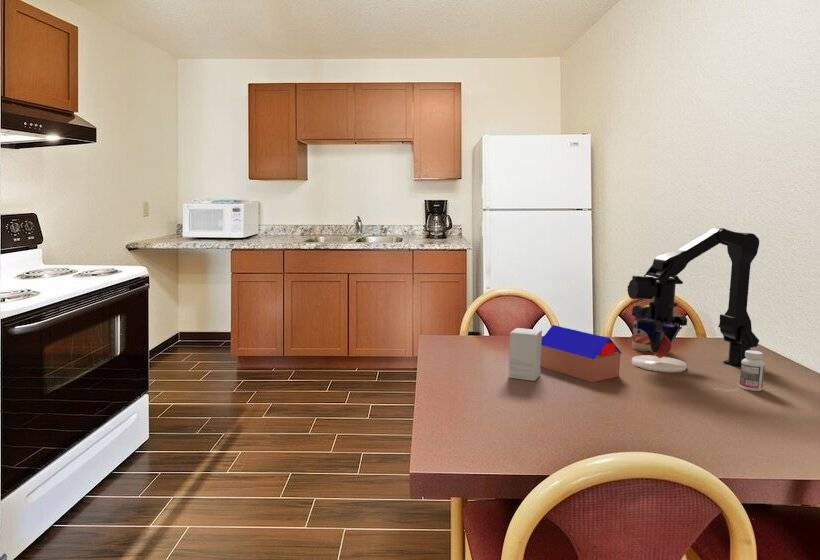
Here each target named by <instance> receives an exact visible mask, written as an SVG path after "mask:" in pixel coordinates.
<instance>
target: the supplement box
mask: <svg viewBox="0 0 820 560" xmlns="http://www.w3.org/2000/svg"><path fill="white" fill-rule="evenodd" d="M542 334H543V331H542V329H533V328H532V329H531V328H523V327H521V328H520V327H516V328H514V329H513V330H511V331H510V332H509V347H508V348H509V351H508V378H510V379H517V380H522V381H523V380H525V381H532V382H535V381H536V380H537V379H538V378H539V377H540V375H541V342H542V338H543V335H542Z"/></svg>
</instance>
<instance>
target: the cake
mask: <svg viewBox="0 0 820 560" xmlns="http://www.w3.org/2000/svg"><path fill="white" fill-rule="evenodd" d="M644 307H649V304H648V305H644V306H643V308H644ZM632 316H633V315H632ZM638 320H639V319H638ZM638 320H636V318H635V317H634V316H633V317H632V325H631V326H632V327H631V330H632V333H633V334H632V335H630V338H631V340H632V341H631V348H632V349H634V350H636V349H637V350H636V351H640V350H641V351H640V352H646V351H650V352H649V353H653V352H652V350H651V348H650V340H649V337H648V335H647V333H646V332H645V331H642V329H637V328H636V323H637V321H638ZM661 330H662V329H661Z"/></svg>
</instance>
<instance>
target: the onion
mask: <svg viewBox="0 0 820 560" xmlns="http://www.w3.org/2000/svg"><path fill="white" fill-rule="evenodd" d="M650 348H651V344H650ZM651 350H652V348H651ZM671 350H672V343H671V342H670V340H669V338H668V337H667V336H665V335H663V338H662V340H661V343H660V346H659V348H658V350H657V352H656V353H655V352H653V351H652V352H651V353H653V355H654V356H657V357H658V358H662V357H666V356H667V355H668V354H670V352H671Z"/></svg>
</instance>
